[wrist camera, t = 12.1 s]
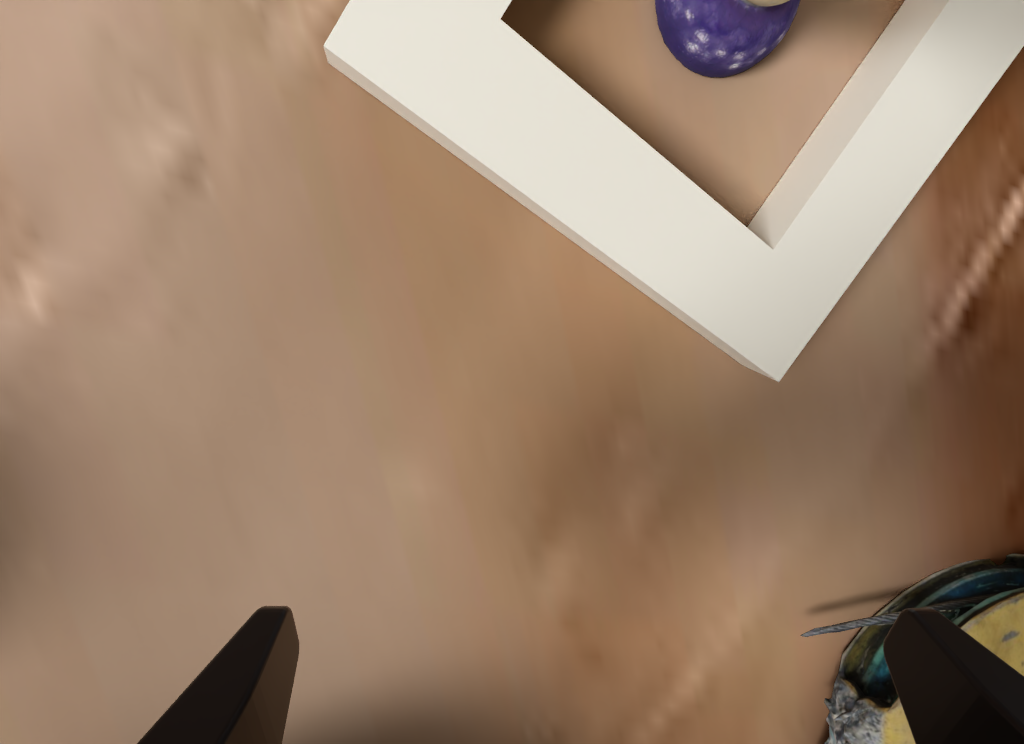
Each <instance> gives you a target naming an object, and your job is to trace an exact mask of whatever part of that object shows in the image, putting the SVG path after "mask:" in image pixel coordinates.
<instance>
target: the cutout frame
mask: <svg viewBox="0 0 1024 744" xmlns="http://www.w3.org/2000/svg"><path fill="white" fill-rule="evenodd" d="M511 1H512V0H350V1H349V3H348V5H347V6H346V8H345V10H344V11H343V13H342V15H341V17H340V18H339V20H338V22H337V23H336V25H335V27H334V29H333V30H332V32H331V34H330V36H329V37H328V39H327V41H326V42H325V44H324V50H325V53H326V56H327V60H328V63H329V64H330V65H332V66H333V67H335V68H336V69H337V70H339V71H340V72H341V73H343V74H344V75H346V76H347V77H348V78H350V79H351V80H352V81H354V82H355V83H357V84H358V85H359V86H361V87H362V88H363V89H365V90H366V91H367V92H369V93H370V94H372V95H373V96H374V97H376V98H377V99H378V100H380V101H381V102H383V103H384V104H385V105H387V106H388V107H389V108H391V109H392V110H393V111H395V112H396V113H398V114H399V115H400V116H402V117H403V118H404V119H406V120H407V121H409V122H410V123H411V124H413V125H414V126H415V127H417V128H418V129H420V130H421V131H422V132H424V133H425V134H426V135H428V136H429V137H430V138H432V139H433V140H435V141H436V142H437V143H439V144H440V145H441V146H443V147H444V148H446V149H447V150H448V151H450V152H451V153H452V154H454V155H455V156H457V157H458V158H459V159H461V160H462V161H463V162H465V163H466V164H467V165H469V166H470V167H472V168H473V169H474V170H476V171H477V172H478V173H480V174H481V175H483V176H484V177H485V178H487V179H488V180H489V181H491V182H492V183H493V184H495V185H496V186H498V187H499V188H500V189H502V190H503V191H504V192H506V193H507V194H509V195H510V196H511V197H513V198H514V199H515V200H517V201H518V202H520V203H521V204H522V205H524V206H525V207H526V208H528V209H529V210H530V211H532V212H533V213H535V214H536V215H537V216H539V217H540V218H541V219H543V220H544V221H546V222H547V223H548V224H550V225H551V226H552V227H554V228H555V229H557V230H558V231H559V232H561V233H562V234H563V235H565V236H566V237H567V238H569V239H570V240H572V241H573V242H574V243H576V244H577V245H578V246H580V247H581V248H583V249H584V250H585V251H587V252H588V253H589V254H591V255H592V256H593V257H595V258H596V259H598V260H599V261H600V262H602V263H603V264H604V265H606V266H607V267H609V268H610V269H611V270H613V271H614V272H615V273H617V274H618V275H620V276H621V277H622V278H624V279H625V280H626V281H628V282H629V283H630V284H632V285H633V286H635V287H636V288H637V289H639V290H640V291H641V292H643V293H644V294H646V295H647V296H648V297H650V298H651V299H652V300H654V301H655V302H657V303H658V304H659V305H661V306H662V307H663V308H665V309H666V310H667V311H669V312H670V313H672V314H673V315H674V316H676V317H677V318H678V319H680V320H681V321H683V322H684V323H685V324H687V325H688V326H689V327H691V328H692V329H693V330H695V331H696V332H698V333H699V334H700V335H702V336H703V337H704V338H706V339H707V340H709V341H710V342H711V343H713V344H714V345H715V346H717V347H718V348H720V349H721V350H722V351H724V352H725V353H726V354H728V355H729V356H730V357H732V358H733V359H735V360H736V361H737V362H739V363H740V364H741V365H743V366H745V367H747V368H749V369H752V370H754V371H756V372H758V373H760V374H762V375H765V376H767V377H769V378H771V379H773V380H775V381H778V382H779V381H780V380H781V378H782V377H783V376H784V374H785V373H786V372H787V370H788V369H789V367H790V366H791V365H792V363H793V362H794V361H795V359H796V358H797V356H798V355H799V354H800V352H801V351H802V350H803V348H804V347H805V345H806V344H807V343H808V341H809V340H810V339H811V337H812V336H813V334H814V333H815V332H816V330H817V329H818V328H819V326H820V325H821V323H822V322H823V321H824V319H825V318H826V317H827V315H828V314H829V312H830V311H831V310H832V308H833V307H834V306H835V304H836V303H837V301H838V300H839V299H840V297H841V296H842V295H843V293H844V292H845V291H846V289H847V288H848V286H849V285H850V284H851V282H852V281H853V280H854V278H855V277H856V275H857V274H858V273H859V271H860V270H861V269H862V267H863V266H864V264H865V263H866V262H867V260H868V259H869V258H870V256H871V255H872V253H873V252H874V251H875V249H876V248H877V247H878V245H879V244H880V242H881V241H882V240H883V238H884V237H885V236H886V234H887V233H888V231H889V230H890V229H891V227H892V226H893V225H894V223H895V222H896V221H897V219H898V218H899V216H900V215H901V214H902V212H903V211H904V210H905V208H906V207H907V205H908V204H909V203H910V201H911V200H912V199H913V197H914V196H915V194H916V193H917V192H918V190H919V189H920V188H921V186H922V185H923V183H924V182H925V181H926V179H927V178H928V177H929V175H930V174H931V172H932V171H933V170H934V168H935V167H936V166H937V164H938V163H939V161H940V160H941V159H942V157H943V156H944V155H945V153H946V152H947V150H948V149H949V148H950V146H951V145H952V144H953V142H954V141H955V140H956V138H957V137H958V135H959V134H960V133H961V131H962V130H963V129H964V127H965V126H966V124H967V123H968V122H969V120H970V119H971V118H972V116H973V115H974V113H975V112H976V111H977V109H978V108H979V107H980V105H981V104H982V102H983V101H984V100H985V98H986V97H987V96H988V94H989V93H990V91H991V90H992V89H993V87H994V86H995V85H996V83H997V82H998V80H999V79H1000V78H1001V76H1002V75H1003V74H1004V72H1005V71H1006V70H1007V68H1008V67H1009V65H1010V64H1011V63H1012V61H1013V60H1014V59H1015V57H1016V56H1017V54H1018V53H1019V52H1020V50H1021V49H1022V48H1023V46H1024V0H905V1H904V3H903V4H902V6H901V7H900V9H899V10H898V11H897V13H896V14H895V16H894V17H893V19H892V20H891V21H890V23H889V24H888V26H887V27H886V29H885V30H884V31H883V33H882V34H881V36H880V37H879V39H878V40H877V42H876V43H875V44H874V46H873V47H872V49H871V50H870V52H869V53H868V54H867V56H866V57H865V59H864V60H863V62H862V63H861V64H860V66H859V67H858V69H857V70H856V72H855V73H854V75H853V76H852V77H851V79H850V80H849V82H848V83H847V85H846V86H845V87H844V89H843V90H842V92H841V93H840V95H839V96H838V97H837V99H836V100H835V102H834V103H833V105H832V106H831V108H830V109H829V110H828V112H827V113H826V115H825V116H824V118H823V119H822V120H821V122H820V123H819V125H818V126H817V128H816V129H815V130H814V132H813V133H812V135H811V136H810V138H809V139H808V141H807V142H806V143H805V145H804V146H803V148H802V149H801V151H800V152H799V153H798V155H797V156H796V158H795V159H794V161H793V162H792V163H791V165H790V166H789V168H788V169H787V171H786V172H785V174H784V175H783V176H782V178H781V179H780V181H779V182H778V184H777V185H776V186H775V188H774V189H773V191H772V192H771V194H770V195H769V196H768V198H767V199H766V201H765V202H764V204H763V205H762V207H761V208H760V209H759V211H758V212H757V214H756V215H755V217H754V218H753V219H752V221H751V222H750V224H749V225H748V227H746V226H744V225H743V224H742V223H741V222H740V221H739V220H737V219H736V218H735V217H734V216H733V215H731V214H730V213H729V212H728V211H727V210H726V209H724V208H723V207H722V206H721V205H720V204H718V203H717V202H716V201H715V200H714V199H713V198H711V197H710V196H709V195H708V194H707V193H705V192H704V191H703V190H702V189H701V188H700V187H698V186H697V185H696V184H695V183H694V182H692V181H691V180H690V179H689V178H688V177H687V176H685V175H684V174H683V173H682V172H681V171H679V170H678V169H677V168H676V167H675V166H674V165H672V164H671V163H670V162H669V161H668V160H666V159H665V158H664V157H663V156H662V155H661V154H659V153H658V152H657V151H656V150H655V149H653V148H652V147H651V146H650V145H649V144H648V143H646V142H645V141H644V140H643V139H642V138H640V137H639V136H638V135H637V134H636V133H634V132H633V131H632V130H631V129H630V128H629V127H627V126H626V125H625V124H624V123H623V122H621V121H620V120H619V119H618V118H617V117H616V116H614V115H613V114H612V113H611V112H610V111H608V110H607V109H606V108H605V107H604V106H603V105H601V104H600V103H599V102H598V101H597V100H595V99H594V98H593V97H592V96H591V95H590V94H588V93H587V92H586V91H585V90H584V89H582V88H581V87H580V86H579V85H578V84H577V83H575V82H574V81H573V80H572V79H571V78H569V77H568V76H567V75H566V74H565V73H564V72H562V71H561V70H560V69H559V68H558V67H556V66H555V65H554V64H553V63H552V62H551V61H549V60H548V59H547V58H546V57H545V56H543V55H542V54H541V53H540V52H539V51H538V50H536V49H535V48H534V47H533V46H532V45H530V44H529V43H528V42H527V41H526V40H525V39H523V38H522V37H521V36H520V35H519V34H517V33H516V32H515V31H514V30H513V29H512V28H510V27H509V26H508V25H507V24H506V23H504V22H503V21H502V20H501V17H502V16H503V14H504V12H505V11H506V9H507V7H508V6H509V4H510V3H511Z"/></svg>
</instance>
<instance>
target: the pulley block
mask: <svg viewBox="0 0 1024 744" xmlns="http://www.w3.org/2000/svg"><path fill="white" fill-rule="evenodd" d="M907 608H929V609H933V610H936V611H938V612H939V613H941V614H942V615H944V616H945V617H946V618H948V619H949V620H950V621H952V622H953V623H954V624H956V625H957V626H958V627H960V628H961V629H962V630H964V631H965V632H966V633H968V634H969V635H970V636H971V637H973V638H974V639H975V640H977V641H978V642H979V643H981V644H982V645H983V646H985V647H986V648H987V649H989V650H990V651H991V652H993V653H994V654H995V655H997V656H998V657H999V658H1001V659H1002V660H1003V661H1004V662H1006V663H1007V664H1008V665H1010V666H1011V667H1012V668H1014V669H1015V670H1016V671H1018V672H1019V673H1020V674H1022V675H1023V676H1024V554H1009V555H1007V556H1006V560H1005V562H1004V563H1003V564H1001V565H999V566H998V565H997V564H995V563H994V562H993V561H991V560H990V559H983V560H973V561H967V562H963V563H959V564H956V565H953V566H951V567H948V568H946V569H943V570H941V571H939V572H936V573H934V574H932V575H930V576H928V577H926V578H924V579H923V580H921V581H919V582H918V583H916V584H915V585H913V586H912V587H910V588H909V589H907V590H905V591H904V592H902V593H901V594H900V595H899V596H897V597H896V598H895V599H894V600H893V601H891V602H890V603H889V604H888V605H887V606H885V607H884V608H883V609H882V610H880V611H879V612H878V613H877V614H876V615H875V616H873V617H868V618H863V619H858V620H853V621H848V622H844V623H840V624H836V625H831V626H826V627H820V628H815V629H813V630H810V631H808V632H806V633H804V634H802V635H801V636H804V637H808V636H813V635H819V634H824V633H831V632H841V631H845V630H850V629H854V628H858V627H863V628H862V629H861V631H860V632H859V633H858V635H857V636H856V637H855V639H854V640H853V641H852V642H851V644H850V645H849V646H848V648H847V649H846V650H845V651H844V653H843V654H842V658H841V664H840V669H839V673H838V675H837V678H836V681H835V684H834V688H833V693H832V698H831V699H827V698H825V701H824V703H825V704H826V706H827V707H828V709H829V710H830V713H829V715H828V717H827V719H826V720H827V722H828V724H829V738H828V740H827V741H826V742H825V744H916V743H915V741H914V738H913V735H912V732H911V730H910V727H909V724H908V721H907V719H906V716H905V713H904V710H903V707H902V705H901V702H900V699H899V696H898V694H897V691H896V688H895V685H894V683H893V680H892V677H891V674H890V671H889V669H888V666H887V663H886V660H885V657H884V652H883V644H884V640H885V638H886V636H887V634H888V633H889V631H890V629H891V628H892V626H893V624H894V623H895V621H896V619H897V617H898V616H899V614H900V613H901V612H902V611H903V610H904V609H907Z"/></svg>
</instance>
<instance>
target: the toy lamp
mask: <svg viewBox="0 0 1024 744" xmlns="http://www.w3.org/2000/svg"><path fill="white" fill-rule="evenodd" d="M799 3H800V0H655V5H656V14H657V20H658V26H659V29H660V31H661V34H662V37H663V40H664V43H665V44H666V45H667V47H668V48H669V50H670V51H671V53H672V54H673V55H674V56H675V58H676V59H677V60H679V61H680V62H681V63H682V64H683V65H684V66H685V67H686V68H688V69H689V70H691V71H693V72H695V73H698V74H700V75H703V76H708V77H727V76H731V75H735V74H738V73H741V72H744V71H745V70H747V69H749V68H751V67H752V66H754V65H755V64H757V63H758V62H760V61H761V60H762V59H763V58H765V57H766V56H767V55H768V54H769V53H771V51H772V50H773V49H774V48H775V47H776V46H777V45H778V43H779V42H780V41H781V40H782V39H783V37H784V36H785V34H786V32H787V31H788V30H789V28H790V25H791V23H792V21H793V19H794V17H795V15H796V12H797V9H798V6H799Z"/></svg>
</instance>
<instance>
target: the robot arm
mask: <svg viewBox="0 0 1024 744" xmlns="http://www.w3.org/2000/svg"><path fill="white" fill-rule="evenodd" d="M883 652H884V657H885V660H886V663H887V666H888V669H889V671H890V674H891V677H892V680H893V683H894V685H895V688H896V691H897V694H898V696H899V699H900V702H901V705H902V707H903V710H904V713H905V716H906V719H907V721H908V724H909V727H910V730H911V732H912V735H913V738H914V741H915V743H916V744H1024V676H1023V675H1022V674H1020V673H1019V672H1018V671H1016V670H1015V669H1014V668H1012V667H1011V666H1010V665H1008V664H1007V663H1006V662H1004V661H1003V660H1002V659H1001V658H999V657H998V656H997V655H995V654H994V653H993V652H991V651H990V650H989V649H987V648H986V647H985V646H983V645H982V644H981V643H979V642H978V641H977V640H975V639H974V638H973V637H971V636H970V635H969V634H968V633H966V632H965V631H964V630H962V629H961V628H960V627H958V626H957V625H956V624H954V623H953V622H952V621H950V620H949V619H948V618H946V617H945V616H944V615H942V614H941V613H939V612H938V611H936V610H933V609H929V608H907V609H904V610H903V611H902V612H901V613H900V614H899V616H898V617H897V619H896V621H895V623H894V624H893V626H892V628H891V629H890V631H889V633H888V634H887V636H886V638H885V640H884V644H883ZM298 656H299V639H298V635H297V631H296V626H295V622H294V618H293V614H292V611H291V609H290V608H289V607H287V606H264V607H261V608H259V609H258V610H257V611H256V612H255V613H254V614H253V615H252V616H251V617H250V618H249V619H248V620H247V621H246V623H245V624H244V625H243V626H242V627H241V628H240V629H239V630H238V632H237V633H236V634H235V635H234V636H233V637H232V638H231V639H230V640H229V642H228V643H227V644H226V645H225V646H224V647H223V648H222V649H221V651H220V652H219V653H218V654H217V655H216V656H215V657H214V658H213V659H212V661H211V662H210V663H209V664H208V665H207V666H206V667H205V668H204V670H203V671H202V672H201V673H200V674H199V675H198V676H197V677H196V678H195V680H194V681H193V682H192V683H191V684H190V685H189V686H188V687H187V689H186V690H185V691H184V692H183V693H182V694H181V695H180V696H179V697H178V699H177V700H176V701H175V702H174V703H173V704H172V705H171V706H170V707H169V709H168V710H167V711H166V712H165V713H164V714H163V715H162V716H161V718H160V719H159V720H158V721H157V722H156V723H155V724H154V725H153V726H152V728H151V729H150V730H149V731H148V732H147V733H146V734H145V735H144V737H143V738H142V739H141V740H140V741H139V742H138V743H137V744H282V739H283V734H284V729H285V724H286V719H287V713H288V708H289V703H290V698H291V693H292V687H293V682H294V677H295V672H296V667H297V661H298Z"/></svg>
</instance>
